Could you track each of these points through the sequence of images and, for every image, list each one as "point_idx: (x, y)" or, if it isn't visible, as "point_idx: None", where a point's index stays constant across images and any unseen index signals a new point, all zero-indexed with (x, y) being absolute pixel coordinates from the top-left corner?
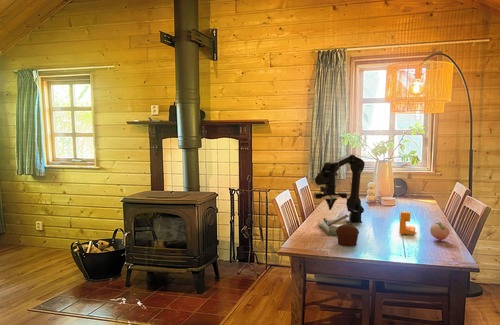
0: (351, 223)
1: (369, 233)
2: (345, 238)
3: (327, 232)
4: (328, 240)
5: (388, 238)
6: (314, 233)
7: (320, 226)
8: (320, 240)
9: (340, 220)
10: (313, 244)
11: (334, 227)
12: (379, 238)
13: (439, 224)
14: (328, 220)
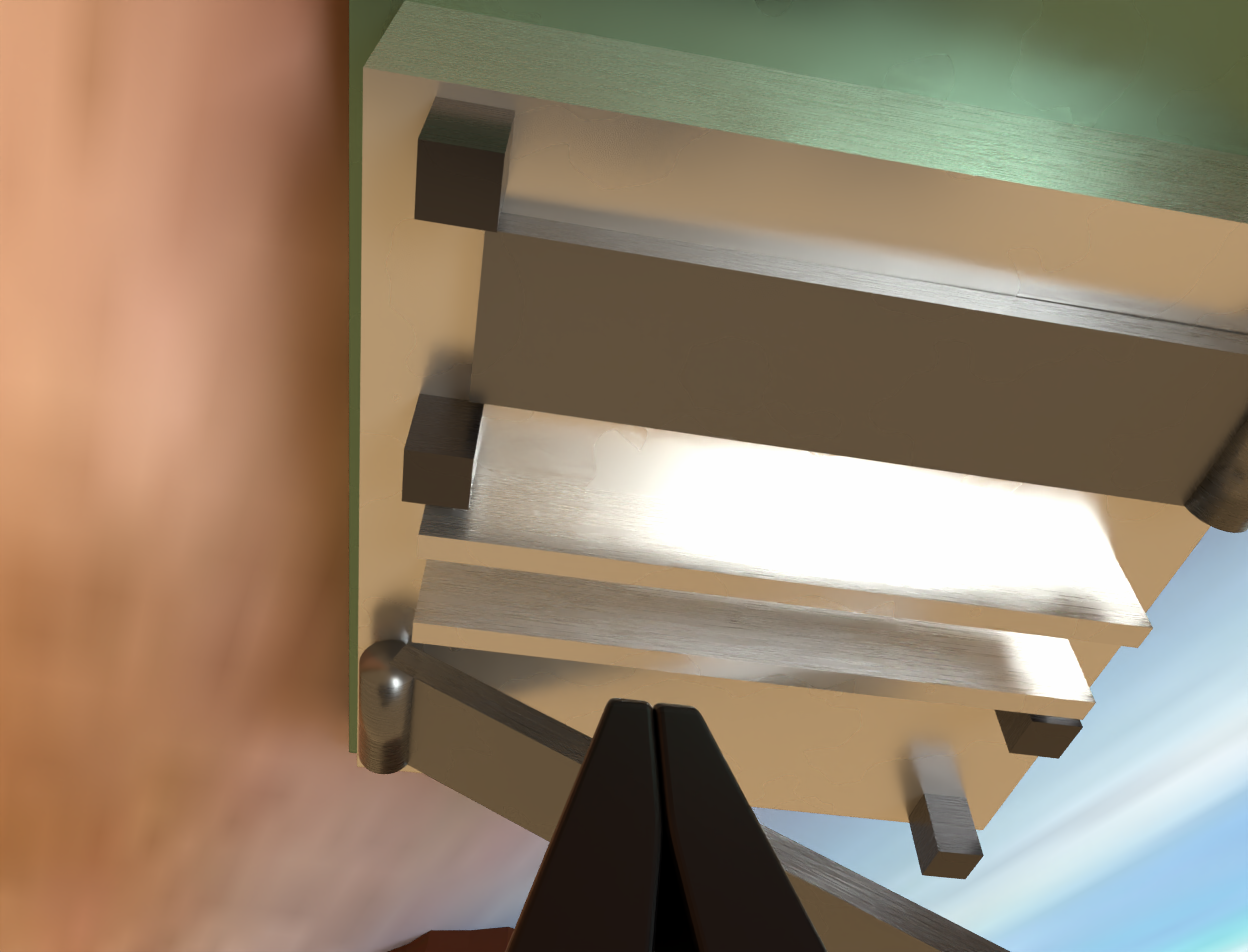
0: (959, 867)
1: (1204, 755)
2: None
3: (349, 663)
4: (272, 864)
5: (1213, 943)
6: (54, 540)
7: None
8: (135, 845)
9: None
10: (4, 927)
11: None
12: (1095, 925)
13: None
14: (475, 561)
